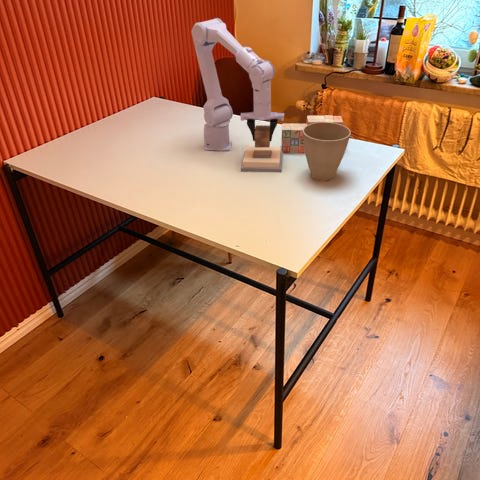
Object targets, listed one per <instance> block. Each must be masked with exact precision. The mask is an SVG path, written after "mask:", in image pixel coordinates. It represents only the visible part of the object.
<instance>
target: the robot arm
mask: <svg viewBox="0 0 480 480" xmlns="http://www.w3.org/2000/svg"><path fill="white" fill-rule="evenodd" d="M227 29H228V28H227V24H226V23H225V22H223V21H222V19H221V18H218V17H215V18H213V19H209V20H204V21H201V22H196V23H195V24H193V27H192V28H191V32H190V33H191V36H192V41H193V44H194V50H195V53H196V58H197V62H198V66H199V70H200V74H201V78H202V83H203V86H204V91H205V94H206V98H207V99H206V100H207V101H206V102H205V103H204V105H203V117H204V118H203V119H204V122H205V123H204V126H203V139H204V151H230V150H231V147H232V142H233V141H232V140H230V125H229V124H230V122H231V120H232V118H233V115H234V112H233V108H232V106H231V105H230V103H229V99H227V98H226V97H224V96H223V94H222V90H221V86H220V80H219V77H218V73H217V72H218V71H217V68H216V64H215V59H214V55H213V51H212V50H213V49H214V46H215V45H216V44H217V43H219V44H220V45H221V46H223V47H224V48H225V49H226V50H228V51H229V52H231V54H233V56H235V62H236V63H238V64H239V66H241V67H242V69H243V70H244V71H246V72H247V73H248V76H249V80H250V82H251V88H252V89H253V93H252V94H253V111H251V112H240V121H241V122H242V121H246V126H247V127H248V129H249V131H250V133H251V137H252V141H253V142H255V127H256V121H269V125H270V142H272V139H273V134H274V133H275V130H276V128H277V125H278V122H279V121H280V122H284V121H285V113H284V112H275V111H272V80H273V79H274V77H275V73H276V71H275V66H274V65H273V64H272V62H271V61H269V60H264V59H262V58H261V57H260V56H258V55H257V54H256V53H255V52H254V51H253V48H251V47H249V46H242V44H241V43H239V41H238V40H237V39H236V38H235V37H234V35H232V34H231V32H229V31H228V30H227Z"/></svg>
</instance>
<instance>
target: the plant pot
mask: <svg viewBox="0 0 480 480" xmlns="http://www.w3.org/2000/svg"><path fill="white" fill-rule="evenodd" d="M350 137H351V130H350V128H348V127H347V126H346V125H344V124H343V125H341V124H337V123H331V122H318V123H312V124H309V125H307V126H306V127H304V129H303V139H304V148H305V153H304V155H305V158H306V163H307V166H308V169H309V172H310V176H311V177H312V178H313V179H314V180H316V181H321V182H324V181H325V182H326V181H330V180H332V179H333V178H334V176H335V175H336V173H337V171H338V169H339V167H340V165H341V162H342V161H343V158H344V156H345V153H346V150H347V147H348V144H349V140H350Z"/></svg>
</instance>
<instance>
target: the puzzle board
mask: <svg viewBox="0 0 480 480" xmlns="http://www.w3.org/2000/svg"><path fill="white" fill-rule="evenodd" d="M243 152H244V153H243V157H242V161H241V167H240V171H241V172H252V173H253V172H256V173H257V172H259V173H260V172H262V173H263V172H265V173H282V169H283V167H282V166H283V155H284V153H283V151H282V146H270V147H269V148H267V147H255V146H249V145H248V146H246V147H245V150H244V151H243Z"/></svg>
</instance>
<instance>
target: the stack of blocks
mask: <svg viewBox="0 0 480 480" xmlns="http://www.w3.org/2000/svg"><path fill="white" fill-rule="evenodd" d="M318 122H331V123H337V124H341V125H343V126H344V121H343V118H342V115H331V114H330V115H327V114H326V115H325V114H324V115H307V116H306V123H281V151H283V154H305V148H304V139H303V129H304V127H306V126H307V125H309V124H312V123H318Z"/></svg>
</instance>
